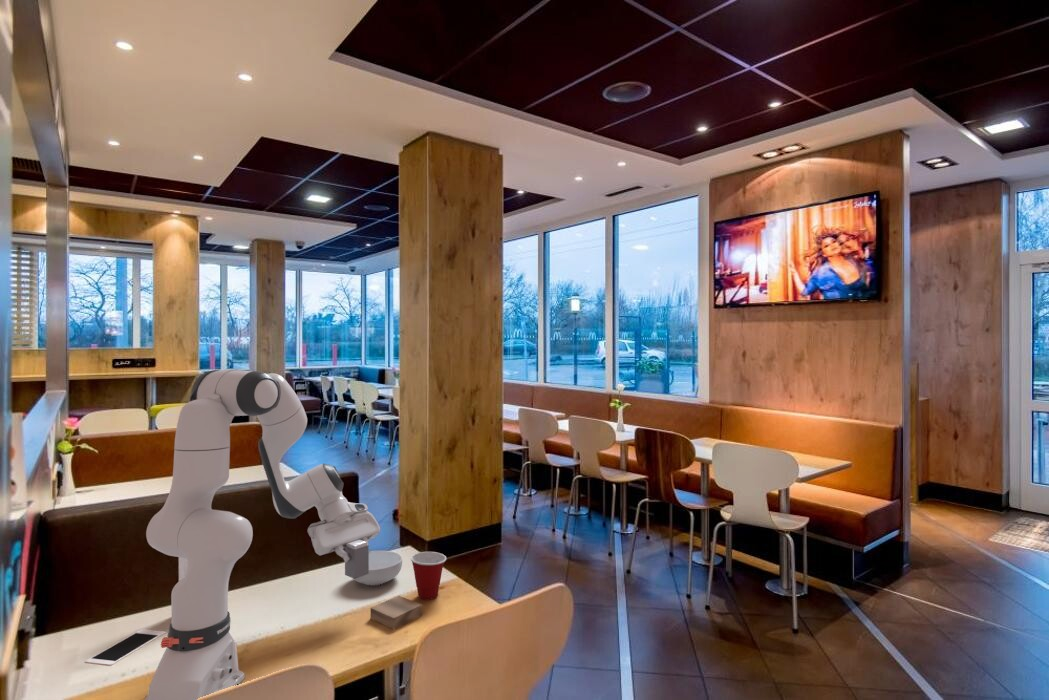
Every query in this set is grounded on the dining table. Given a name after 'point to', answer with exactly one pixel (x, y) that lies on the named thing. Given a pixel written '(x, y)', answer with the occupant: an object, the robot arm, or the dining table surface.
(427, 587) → the plastic cup
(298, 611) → the dining table surface
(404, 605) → the base block
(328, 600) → the dining table surface
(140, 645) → the cell phone
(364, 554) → the salt shaker
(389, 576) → the cereal bowl
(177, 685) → the robot arm
